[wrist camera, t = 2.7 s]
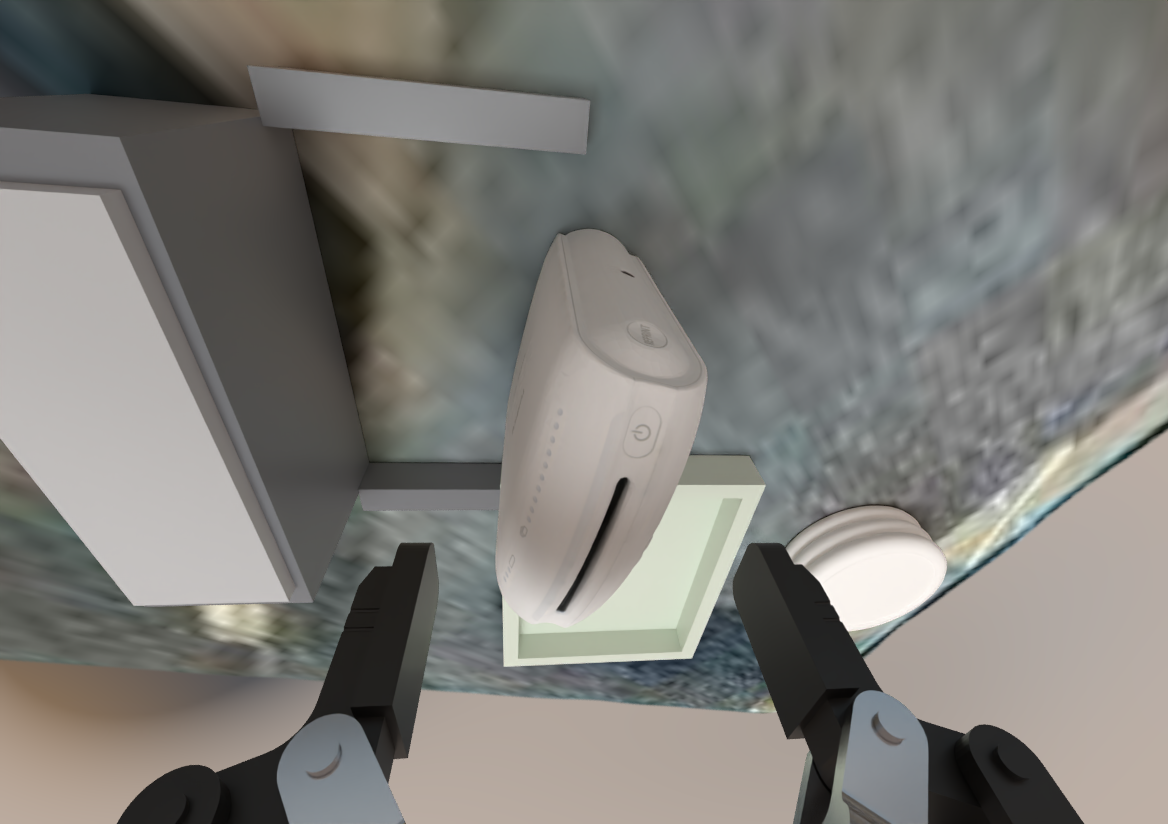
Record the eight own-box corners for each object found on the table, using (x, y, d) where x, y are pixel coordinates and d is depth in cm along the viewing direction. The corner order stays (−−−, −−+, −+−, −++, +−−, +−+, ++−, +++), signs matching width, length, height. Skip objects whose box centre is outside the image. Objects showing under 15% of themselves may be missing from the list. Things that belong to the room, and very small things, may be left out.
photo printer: (549, 210, 18) (569, 369, 8) (650, 240, 20) (773, 414, 9) (498, 416, 24) (473, 660, 14) (578, 431, 25) (609, 669, 15)
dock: (68, 45, 14) (-365, 16, 7) (584, 98, 16) (622, 115, 9) (256, 483, 25) (149, 639, 18) (556, 483, 27) (564, 625, 20)
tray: (502, 453, 25) (500, 484, 23) (749, 455, 27) (765, 485, 25) (505, 634, 36) (503, 666, 34) (683, 628, 37) (691, 658, 35)
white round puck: (940, 536, 34) (978, 578, 31) (825, 605, 38) (849, 648, 35) (867, 479, 30) (903, 522, 27) (746, 564, 34) (766, 609, 31)
